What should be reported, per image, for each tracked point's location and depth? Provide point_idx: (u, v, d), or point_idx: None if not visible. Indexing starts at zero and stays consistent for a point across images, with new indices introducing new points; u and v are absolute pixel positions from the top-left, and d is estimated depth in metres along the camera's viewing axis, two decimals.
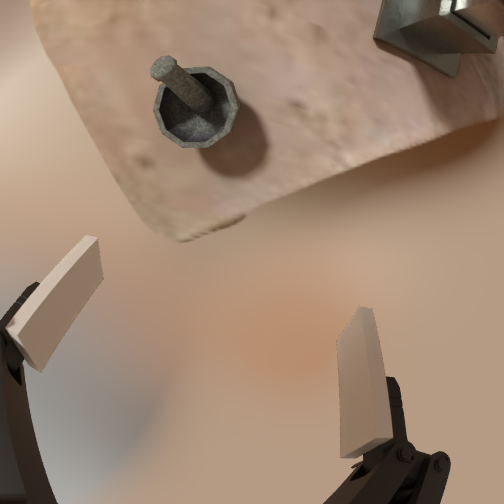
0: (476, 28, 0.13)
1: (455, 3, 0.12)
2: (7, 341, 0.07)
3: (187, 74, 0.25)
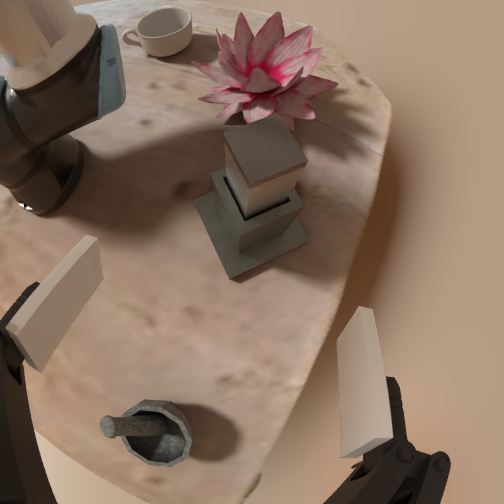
0: (273, 205, 0.28)
1: (241, 207, 0.27)
2: (7, 341, 0.07)
3: (129, 419, 0.28)
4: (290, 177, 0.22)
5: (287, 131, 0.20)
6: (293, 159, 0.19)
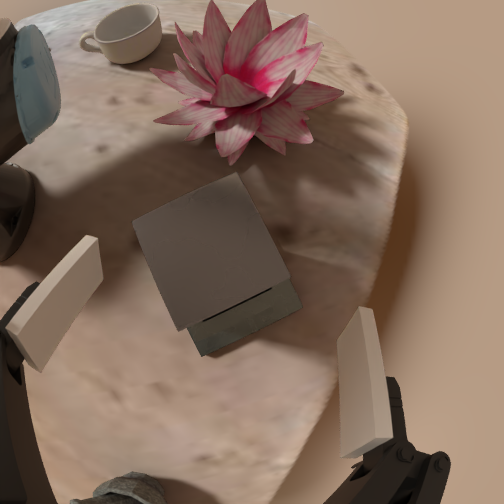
0: None
1: None
2: (7, 341, 0.07)
3: (99, 501, 0.18)
4: None
5: (253, 212, 0.11)
6: (262, 276, 0.10)
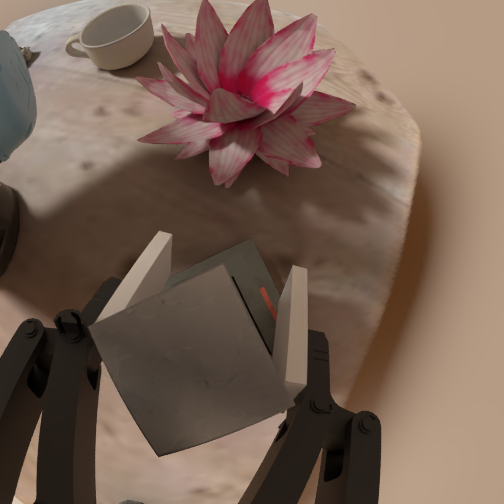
0: None
1: None
2: (92, 344, 0.09)
3: None
4: None
5: (247, 324, 0.08)
6: (258, 406, 0.07)
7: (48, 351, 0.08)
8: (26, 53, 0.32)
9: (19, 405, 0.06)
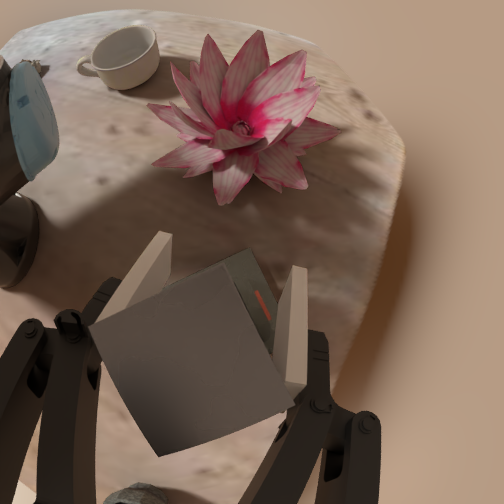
0: None
1: None
2: (92, 344, 0.09)
3: None
4: None
5: (246, 324, 0.08)
6: (258, 406, 0.07)
7: (48, 351, 0.08)
8: (36, 66, 0.37)
9: (19, 405, 0.06)
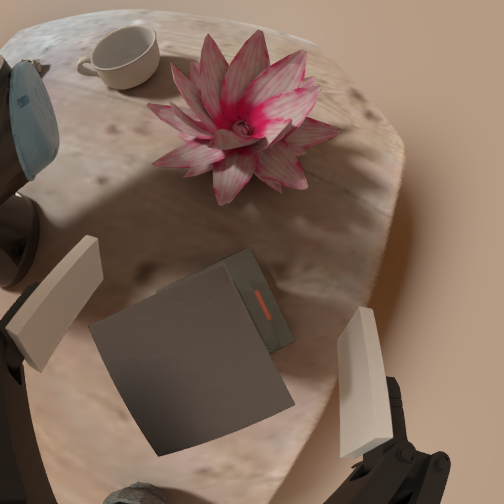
0: None
1: None
2: (7, 341, 0.07)
3: None
4: None
5: (247, 324, 0.08)
6: (258, 405, 0.07)
7: None
8: (37, 65, 0.37)
9: None
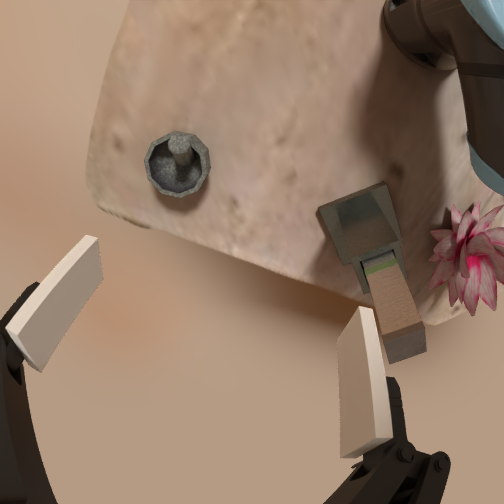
0: None
1: (377, 286, 0.32)
2: (7, 341, 0.07)
3: (189, 152, 0.36)
4: None
5: (412, 356, 0.26)
6: (392, 359, 0.27)
7: None
8: None
9: None
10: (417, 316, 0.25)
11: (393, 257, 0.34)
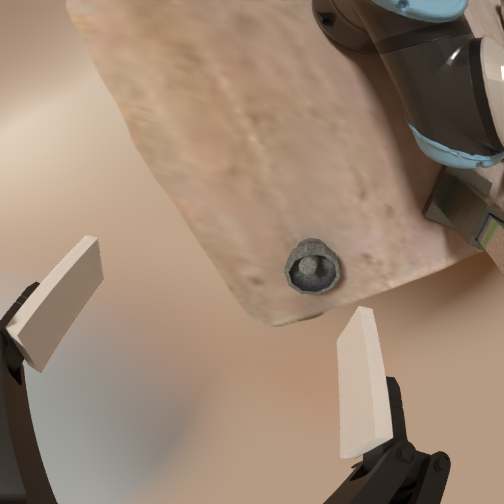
0: None
1: (495, 253, 0.29)
2: (7, 341, 0.07)
3: (316, 261, 0.46)
4: None
5: None
6: None
7: None
8: None
9: None
10: None
11: (493, 220, 0.30)
